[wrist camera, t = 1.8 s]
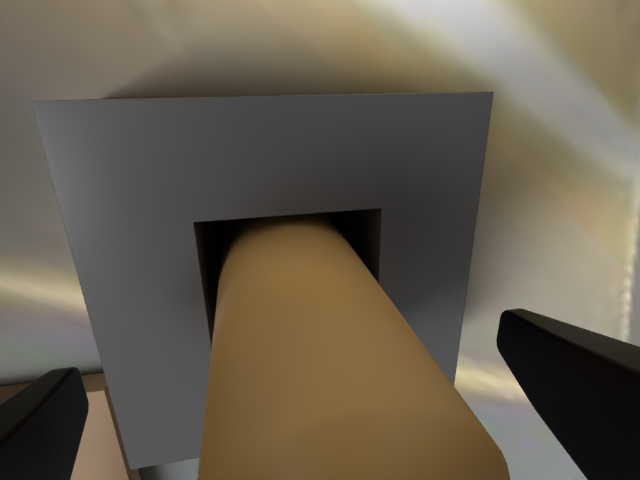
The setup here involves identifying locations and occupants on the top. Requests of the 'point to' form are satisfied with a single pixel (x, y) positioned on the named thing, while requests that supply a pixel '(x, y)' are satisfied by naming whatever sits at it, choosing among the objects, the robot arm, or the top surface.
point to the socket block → (250, 202)
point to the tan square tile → (95, 434)
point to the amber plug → (325, 370)
